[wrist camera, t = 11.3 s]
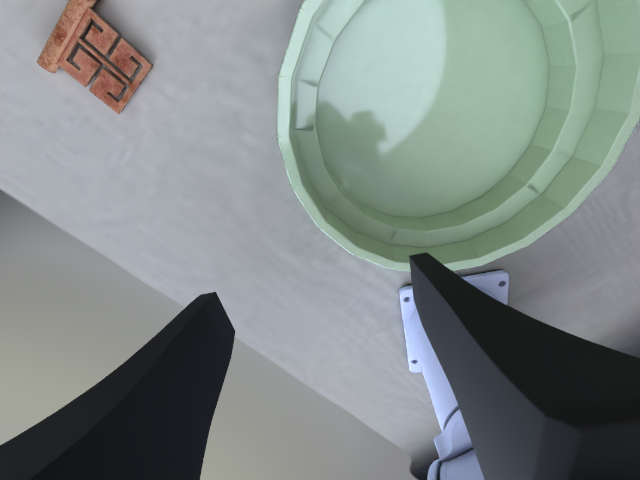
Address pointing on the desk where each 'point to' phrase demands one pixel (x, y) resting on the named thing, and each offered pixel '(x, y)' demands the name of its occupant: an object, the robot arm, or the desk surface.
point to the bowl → (454, 120)
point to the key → (67, 39)
